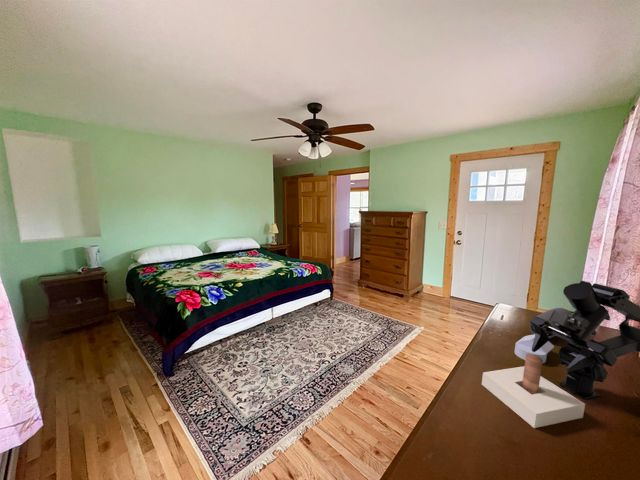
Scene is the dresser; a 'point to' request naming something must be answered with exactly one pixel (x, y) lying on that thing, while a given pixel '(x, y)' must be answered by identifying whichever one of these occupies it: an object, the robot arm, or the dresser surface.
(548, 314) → the bluetooth speaker
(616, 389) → the dresser surface
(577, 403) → the hole block
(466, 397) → the dresser surface
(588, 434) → the dresser surface
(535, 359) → the peg
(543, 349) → the wedge on round base
